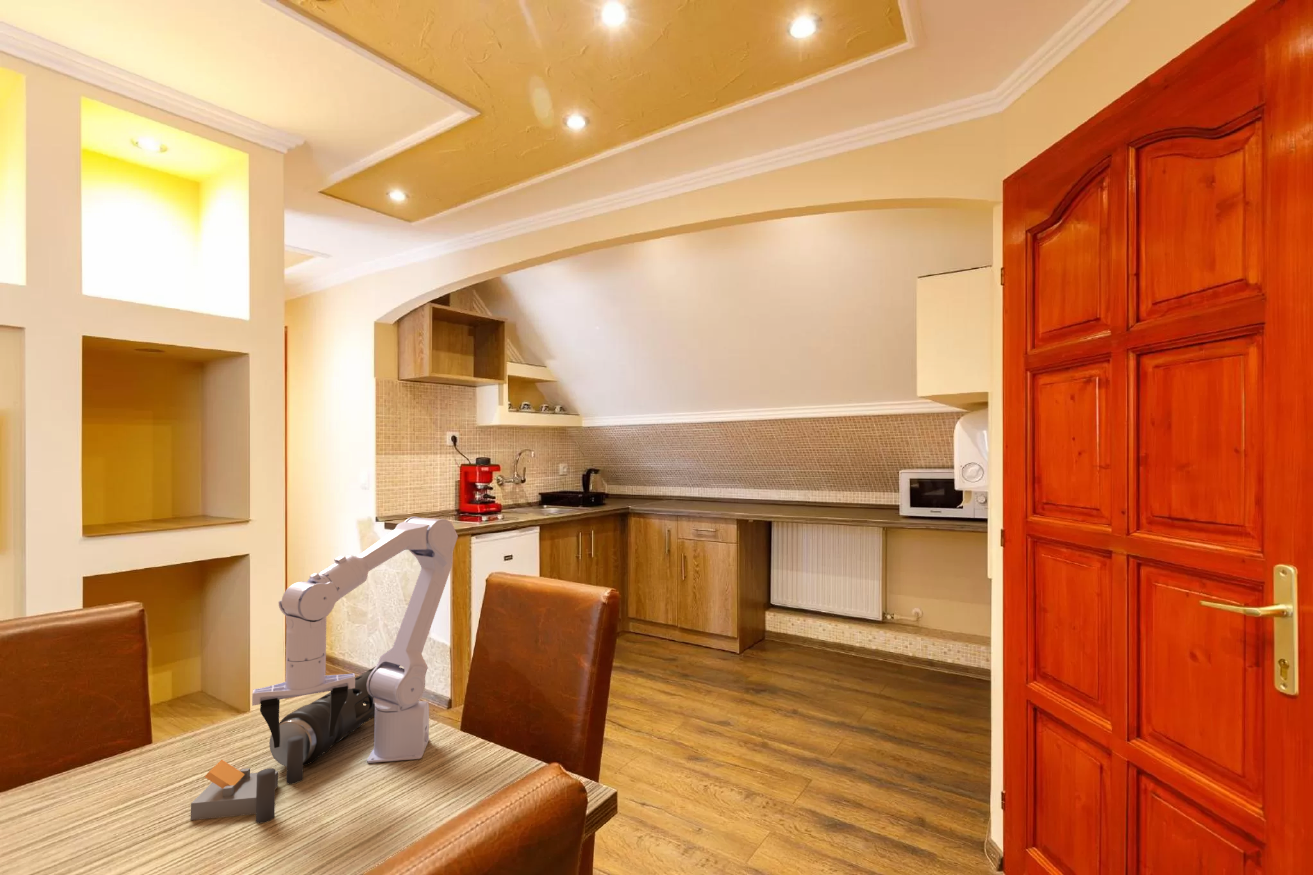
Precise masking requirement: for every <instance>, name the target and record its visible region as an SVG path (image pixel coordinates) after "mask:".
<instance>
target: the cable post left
mask: <svg viewBox="0 0 1313 875" xmlns="http://www.w3.org/2000/svg"><path fill="white" fill-rule="evenodd" d="M275 771H276V768H274V767H273V768H270V767H269V768H264V769H262V770H260V771H258V772H256V773H257V790H256V814H255V822H256V823H257V824H265V823H268V822H270V821H272V820H273V819H274V818H275V811H276V810H275V809H276V808H275V806H276V805H275V804H276V803H275V801H276V800H275V799H276V789H275Z"/></svg>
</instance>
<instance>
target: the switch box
mask: <svg viewBox="0 0 1313 875" xmlns="http://www.w3.org/2000/svg"><path fill="white" fill-rule="evenodd" d="M239 771H240V772H242V773H243V774H245V775H244V776H243V777H242V779H241V780H240V781H239V782H238V783H237V784H236V785H235V786H234V785H231V786H225V787H224V788H223V789H222V788H221V787H219V786H218V785H216V784H215V783H213V782H211V783H209V785H208V786H207V787H206V788H205V789H204V790H203V791H202V792H201V793H200V794H199V795H198V796H196V798H195V799H194V800H193V801H192V802H190V821H194V820H195V821H196V820H204V819H205V820H206V819H207V820H208V819H215V818H225V817H228V818H229V817H236V816H238V817H239V816H247V815H256V790H257V773H258V772H251V768H249V767H248V768H241V770H239ZM278 787H279V770H275V790H276V789H277V788H278Z"/></svg>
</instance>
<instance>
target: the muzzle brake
mask: <svg viewBox="0 0 1313 875" xmlns="http://www.w3.org/2000/svg"><path fill="white" fill-rule="evenodd" d="M376 666H377V665H376ZM376 666H373V667H371V668H370V669H369V670H366V671H364V673H361V674H359V675H358V676H355V688H352V689H348V696H347V699H346V701H345V703H344V705H343V707H342V709H341V711H340V714H339V716H338V719H337V722H336V726H335V730H334V736H331V737H329V720H330V704H331V691H329V692H327V694H325V695H323V696H321V697H320V698H318V699H316V700H314V701H312V702H311V703H309V704H305V705H302V706H301V707H299V708H297V709H296V710H294V711H292V712H290V713H288V714H287V715H285V716H284V717H283V718H282V719H281V720H280V721H279V726H280V746H279V747H277V748H274V741H273V737H272V734H271V735H270V737H269V750H270V754H271V756H272V757H273V759H274V760H275V761H276V762H277V763H278V764H279V765H281V766H282V767H285V768H287V740H288V739H289V738H291V737H294V736H303V737H304V740H303V766H306V765H309V764H312V763H313V762H314V761H316V760H318V759H319V758H320V757H322V756H323V755H324V754H325V753H327V752H328V751H329V750H330V749H331V748H332V747H333V746H334V745H336V744H337V743H338V742H340V741H341V740H342V739H344V738H346V737H347V736H348V735H349V734H351V733H352V732H354V731H356V730H357V729H359V728H360V727H361V726H362V725H364V724H365V723H366V722H368V721H369V720H371V719H372V718H373V717H374V718H375V704H374V703H373V697H372V696H370V695H369V693H368V691H367V680H368V677H369V675H370V673H371V672H372V671H373V669H374V668H375V667H376Z"/></svg>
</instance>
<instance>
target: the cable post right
mask: <svg viewBox="0 0 1313 875" xmlns="http://www.w3.org/2000/svg"><path fill="white" fill-rule="evenodd" d="M303 740H304V737H303V736H294V737H291V738H289V739H288V740H287V767H286V778H285V779H286V780H285V781H286V784H287V785H293V784H297V783H300V782H302V780H303V779H304V778H303V776H304V765H303Z"/></svg>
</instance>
